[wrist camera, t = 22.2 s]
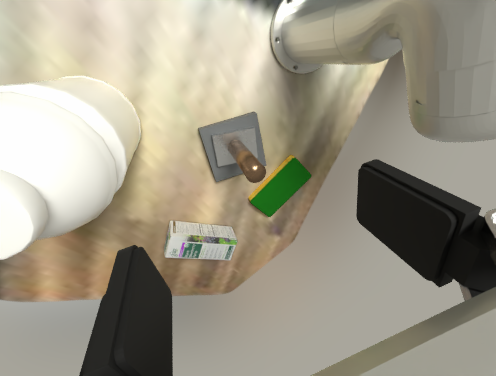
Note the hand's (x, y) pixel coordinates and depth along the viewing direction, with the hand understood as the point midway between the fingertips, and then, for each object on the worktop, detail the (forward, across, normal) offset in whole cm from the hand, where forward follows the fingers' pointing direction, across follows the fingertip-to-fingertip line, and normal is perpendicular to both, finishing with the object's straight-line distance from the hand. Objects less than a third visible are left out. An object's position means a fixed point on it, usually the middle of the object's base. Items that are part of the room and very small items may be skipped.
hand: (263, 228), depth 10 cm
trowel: (+35, -5, +9) cm, 36 cm away
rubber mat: (+36, -5, +10) cm, 38 cm away
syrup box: (+34, +2, +31) cm, 46 cm away
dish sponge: (+37, -13, +22) cm, 45 cm away
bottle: (+36, +16, -1) cm, 40 cm away
